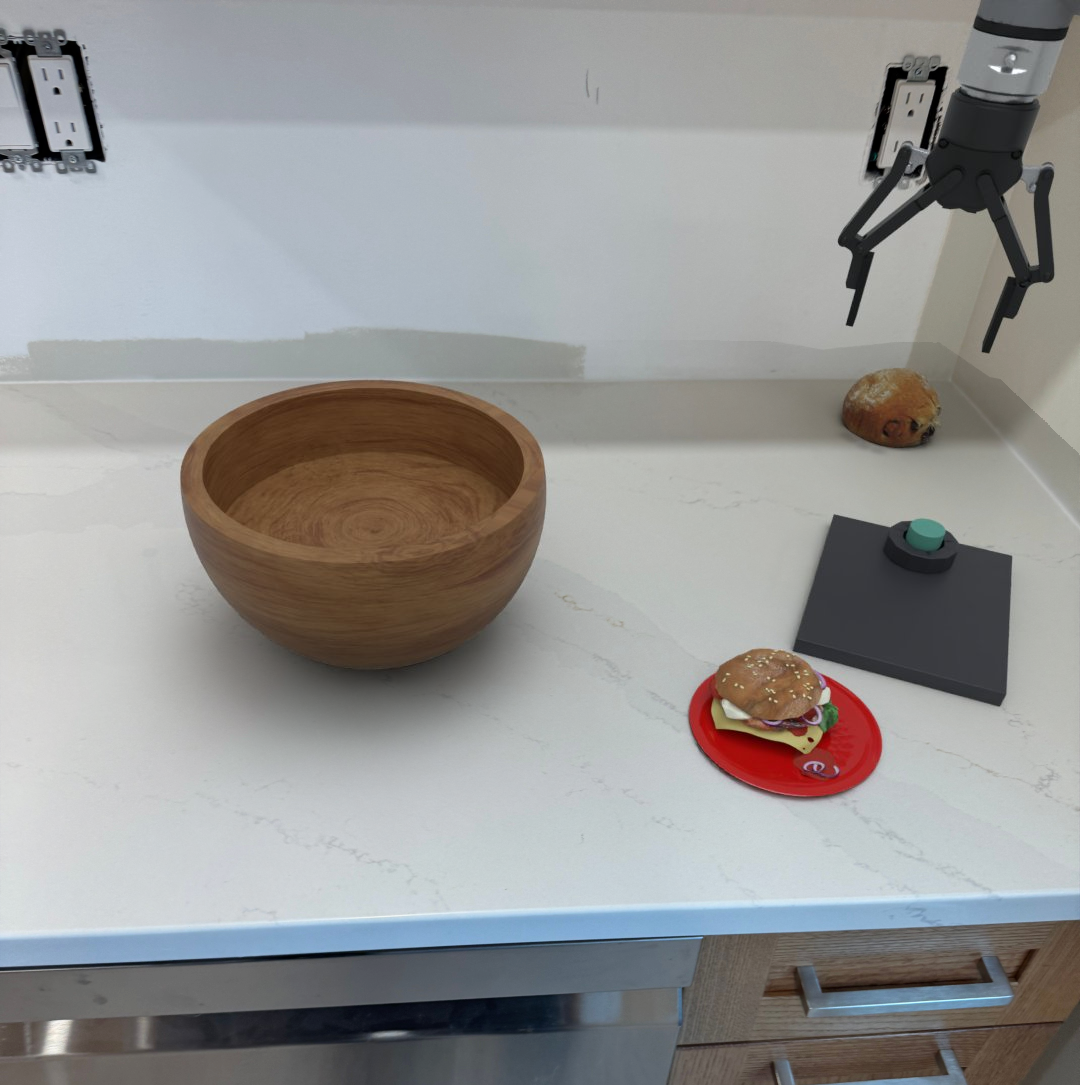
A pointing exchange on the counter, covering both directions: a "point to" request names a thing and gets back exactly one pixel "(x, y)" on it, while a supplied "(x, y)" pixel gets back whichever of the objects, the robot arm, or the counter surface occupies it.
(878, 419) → the bread roll
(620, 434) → the counter surface
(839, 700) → the hamburger
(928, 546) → the button
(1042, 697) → the counter surface
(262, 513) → the bowl
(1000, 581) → the scale
